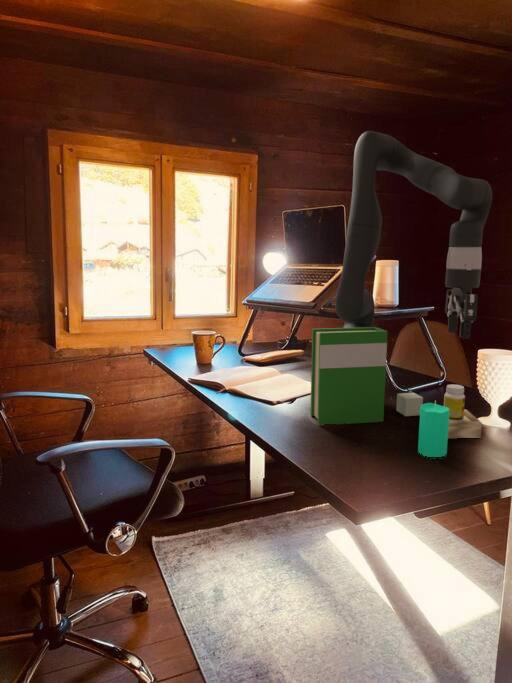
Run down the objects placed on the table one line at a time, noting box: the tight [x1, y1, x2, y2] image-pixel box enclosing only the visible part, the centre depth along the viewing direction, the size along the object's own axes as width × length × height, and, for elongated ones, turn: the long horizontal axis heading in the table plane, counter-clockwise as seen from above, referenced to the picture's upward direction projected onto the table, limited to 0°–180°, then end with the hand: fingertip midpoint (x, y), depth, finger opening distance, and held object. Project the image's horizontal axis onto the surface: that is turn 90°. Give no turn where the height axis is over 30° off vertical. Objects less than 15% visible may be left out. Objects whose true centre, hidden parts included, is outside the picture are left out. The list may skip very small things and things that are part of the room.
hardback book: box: [310, 326, 388, 425], centre depth 129 cm, size 18×7×24 cm, turn 99°
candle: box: [417, 400, 450, 458], centre depth 107 cm, size 6×6×12 cm
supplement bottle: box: [443, 384, 466, 421], centre depth 120 cm, size 5×5×8 cm
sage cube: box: [396, 392, 424, 417], centre depth 135 cm, size 5×5×5 cm
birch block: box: [448, 409, 483, 439], centre depth 121 cm, size 10×10×4 cm
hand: (458, 335), depth 118 cm, fingers open, 8 cm apart
